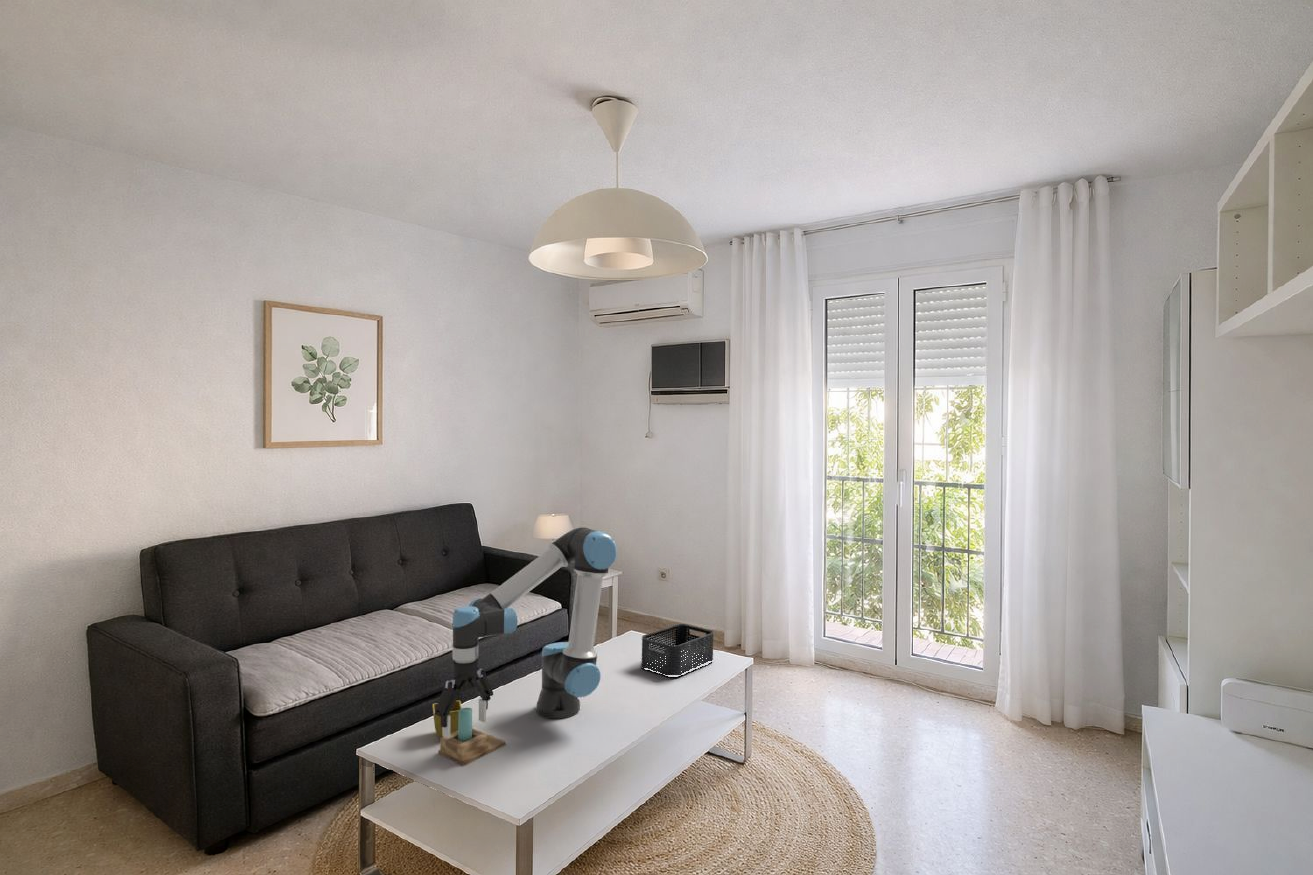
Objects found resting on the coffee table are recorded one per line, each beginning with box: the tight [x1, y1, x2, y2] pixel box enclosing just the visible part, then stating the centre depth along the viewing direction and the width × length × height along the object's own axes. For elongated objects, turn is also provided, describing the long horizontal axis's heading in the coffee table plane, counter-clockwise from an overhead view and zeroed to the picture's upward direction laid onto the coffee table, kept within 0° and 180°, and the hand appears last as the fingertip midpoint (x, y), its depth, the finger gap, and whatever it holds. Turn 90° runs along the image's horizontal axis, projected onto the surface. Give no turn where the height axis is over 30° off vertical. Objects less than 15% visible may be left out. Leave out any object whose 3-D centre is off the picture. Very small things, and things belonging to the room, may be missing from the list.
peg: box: [458, 707, 473, 742], centre depth 208 cm, size 4×4×12 cm
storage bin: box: [640, 623, 714, 675], centre depth 286 cm, size 29×19×13 cm
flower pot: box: [432, 700, 462, 739], centre depth 220 cm, size 9×9×9 cm
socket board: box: [437, 728, 507, 766], centre depth 210 cm, size 16×12×5 cm
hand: (464, 728), depth 208 cm, fingers open, 13 cm apart
